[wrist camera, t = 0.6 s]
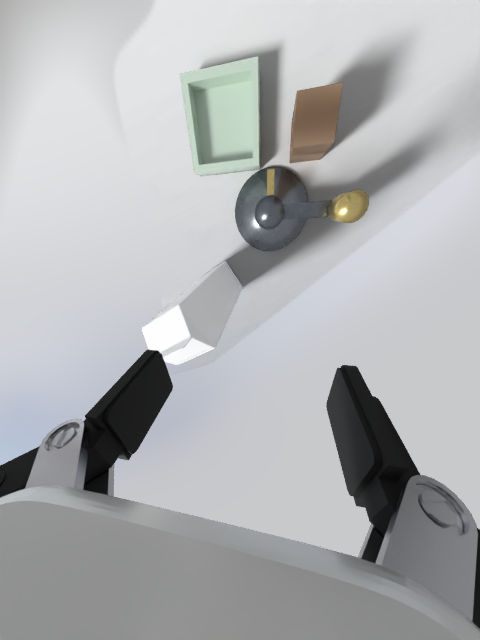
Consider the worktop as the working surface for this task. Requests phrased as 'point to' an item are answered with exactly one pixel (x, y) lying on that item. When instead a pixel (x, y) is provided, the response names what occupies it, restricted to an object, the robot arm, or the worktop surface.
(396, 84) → the worktop surface
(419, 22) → the worktop surface
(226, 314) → the milk
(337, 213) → the crank
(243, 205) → the crank base
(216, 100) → the tray
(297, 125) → the block
